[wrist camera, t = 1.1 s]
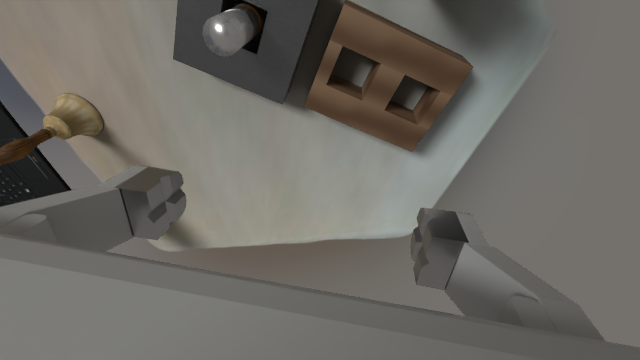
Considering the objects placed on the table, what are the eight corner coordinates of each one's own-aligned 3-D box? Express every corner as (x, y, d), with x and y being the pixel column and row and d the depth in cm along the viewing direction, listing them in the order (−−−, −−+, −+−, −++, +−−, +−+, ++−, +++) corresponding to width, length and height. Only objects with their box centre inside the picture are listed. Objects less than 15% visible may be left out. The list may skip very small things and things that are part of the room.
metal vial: (241, -6, 40) (204, 7, 30) (270, 8, 40) (244, 25, 31) (235, 26, 42) (199, 48, 33) (263, 39, 43) (236, 63, 33)
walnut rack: (345, -2, 39) (344, 4, 35) (462, 56, 42) (473, 67, 38) (308, 93, 47) (303, 106, 43) (407, 136, 50) (412, 151, 46)
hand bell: (46, 102, 53) (-51, 149, 41) (76, 85, 51) (-18, 130, 38) (83, 140, 58) (6, 193, 45) (113, 127, 55) (40, 178, 42)
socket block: (204, -82, 35) (184, -86, 31) (327, -21, 38) (323, -17, 34) (189, 49, 45) (173, 59, 41) (288, 91, 47) (282, 104, 43)
